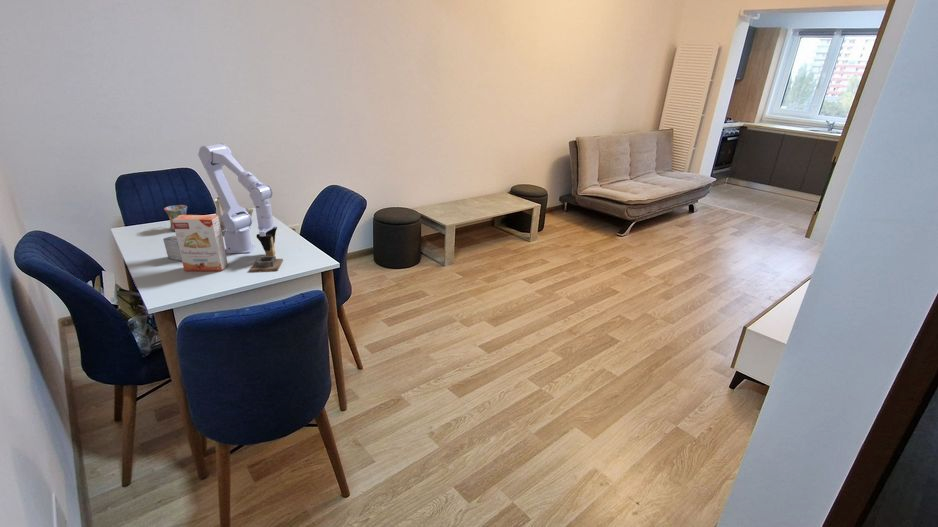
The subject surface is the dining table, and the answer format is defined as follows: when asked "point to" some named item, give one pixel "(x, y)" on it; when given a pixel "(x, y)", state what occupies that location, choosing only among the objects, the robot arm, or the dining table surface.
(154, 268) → the dining table surface
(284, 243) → the dining table surface
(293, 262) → the dining table surface
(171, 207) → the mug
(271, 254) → the wick block
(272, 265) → the clip stand
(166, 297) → the dining table surface
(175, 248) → the medicine box
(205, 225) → the cracker box
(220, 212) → the chinaware
